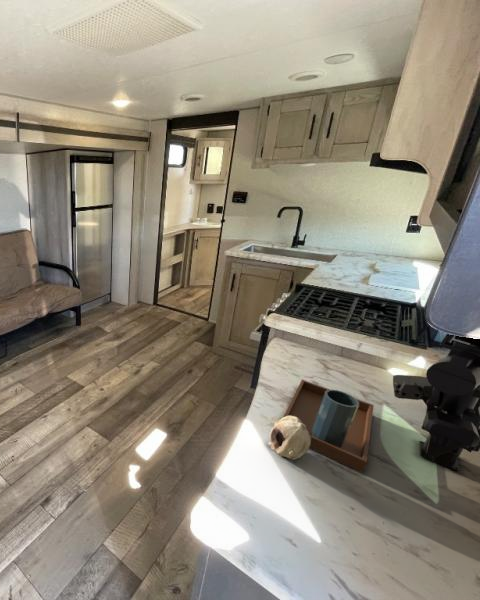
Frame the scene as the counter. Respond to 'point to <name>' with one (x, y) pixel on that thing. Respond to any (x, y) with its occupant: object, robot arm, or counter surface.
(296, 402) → the tray
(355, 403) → the tumbler
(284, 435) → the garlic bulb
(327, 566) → the counter surface
